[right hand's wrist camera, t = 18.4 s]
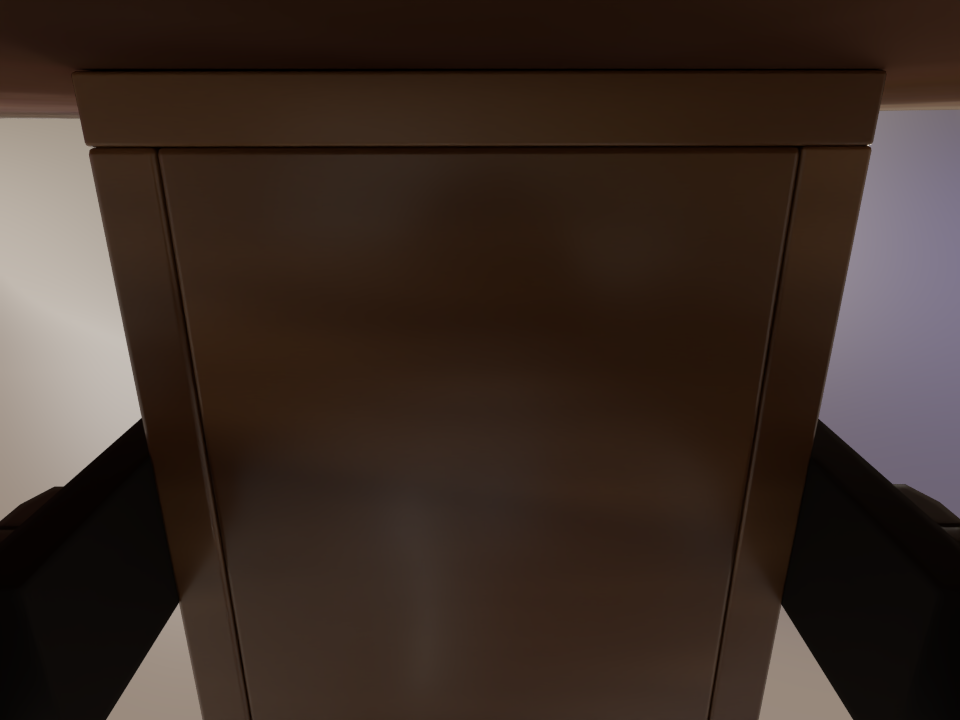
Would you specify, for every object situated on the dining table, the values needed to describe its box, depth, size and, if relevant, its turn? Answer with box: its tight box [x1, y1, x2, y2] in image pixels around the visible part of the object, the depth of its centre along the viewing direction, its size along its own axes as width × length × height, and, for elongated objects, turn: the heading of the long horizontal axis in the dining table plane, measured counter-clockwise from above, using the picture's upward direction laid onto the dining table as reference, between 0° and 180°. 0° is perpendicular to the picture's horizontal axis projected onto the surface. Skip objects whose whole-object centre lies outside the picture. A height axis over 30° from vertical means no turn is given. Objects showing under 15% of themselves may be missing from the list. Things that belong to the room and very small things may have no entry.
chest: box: [72, 70, 886, 720], centre depth 17 cm, size 15×10×11 cm, turn 0°
